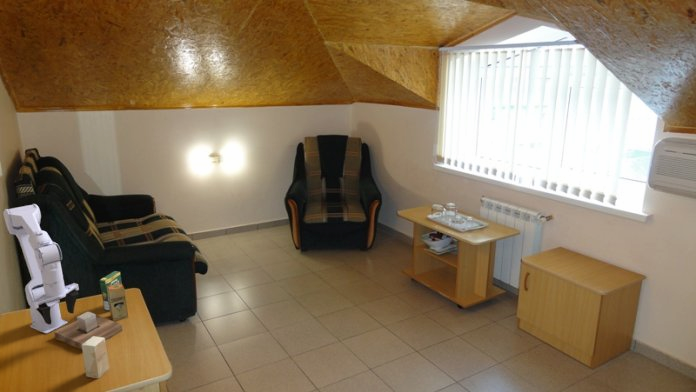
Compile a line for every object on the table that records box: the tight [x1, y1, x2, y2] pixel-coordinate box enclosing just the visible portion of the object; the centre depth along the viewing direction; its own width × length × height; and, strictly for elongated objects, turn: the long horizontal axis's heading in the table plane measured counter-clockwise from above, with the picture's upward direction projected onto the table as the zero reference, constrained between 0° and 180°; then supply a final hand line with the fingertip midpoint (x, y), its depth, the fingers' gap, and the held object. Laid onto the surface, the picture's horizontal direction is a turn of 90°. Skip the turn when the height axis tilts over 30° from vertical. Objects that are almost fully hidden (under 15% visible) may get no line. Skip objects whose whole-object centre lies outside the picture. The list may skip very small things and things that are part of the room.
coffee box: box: [99, 270, 123, 312], centre depth 183 cm, size 8×3×13 cm, turn 163°
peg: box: [76, 311, 98, 334], centre depth 165 cm, size 4×4×7 cm
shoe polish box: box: [107, 283, 129, 322], centre depth 176 cm, size 5×5×12 cm
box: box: [81, 336, 110, 379], centre depth 145 cm, size 5×4×11 cm
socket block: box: [53, 314, 123, 351], centre depth 166 cm, size 16×14×2 cm
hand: (59, 317), depth 159 cm, fingers open, 7 cm apart
